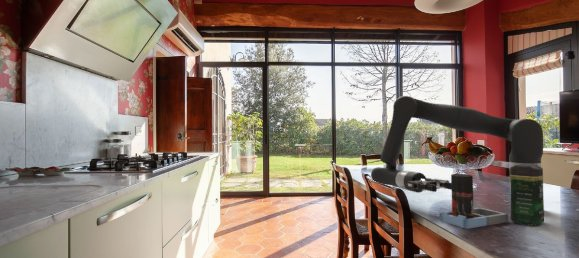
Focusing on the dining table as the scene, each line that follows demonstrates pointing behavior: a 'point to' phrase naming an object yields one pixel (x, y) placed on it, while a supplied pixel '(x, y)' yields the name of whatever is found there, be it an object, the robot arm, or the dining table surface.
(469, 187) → the deodorant
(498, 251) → the dining table surface
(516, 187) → the coffee jar
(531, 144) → the robot arm
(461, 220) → the pale blue open frame
